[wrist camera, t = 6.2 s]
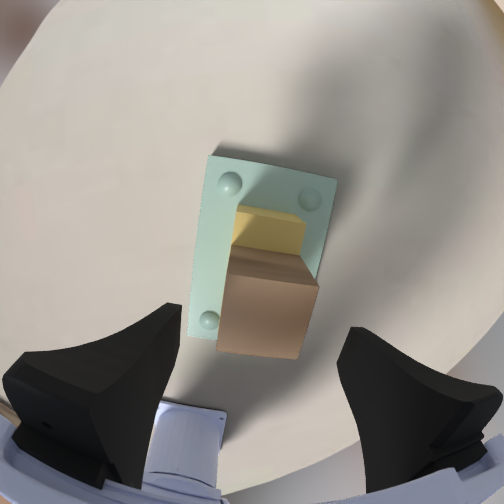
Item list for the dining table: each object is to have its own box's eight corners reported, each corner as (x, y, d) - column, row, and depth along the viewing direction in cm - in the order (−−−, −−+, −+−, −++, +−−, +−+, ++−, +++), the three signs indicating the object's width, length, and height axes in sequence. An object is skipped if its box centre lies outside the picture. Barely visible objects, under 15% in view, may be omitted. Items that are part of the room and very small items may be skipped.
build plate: (292, 342, 23) (294, 350, 22) (189, 328, 22) (186, 336, 21) (333, 179, 19) (338, 179, 18) (210, 155, 18) (208, 155, 17)
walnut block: (285, 315, 17) (297, 359, 13) (222, 306, 17) (215, 350, 12) (299, 255, 16) (319, 286, 12) (231, 244, 16) (226, 273, 11)
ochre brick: (272, 316, 21) (277, 342, 18) (221, 309, 21) (217, 334, 17) (295, 214, 19) (306, 224, 15) (237, 204, 18) (236, 211, 15)
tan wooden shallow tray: (60, 466, 34) (56, 476, 30) (5, 433, 32) (0, 441, 29) (30, 421, 29) (22, 433, 25) (-26, 382, 27) (-34, 391, 24)
